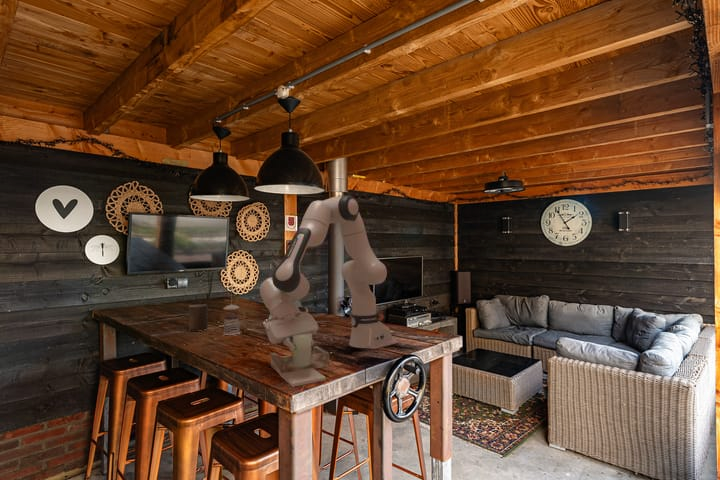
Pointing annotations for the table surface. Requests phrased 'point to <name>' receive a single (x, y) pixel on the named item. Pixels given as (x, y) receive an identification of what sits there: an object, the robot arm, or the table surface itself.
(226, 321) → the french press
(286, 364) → the frame
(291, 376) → the concrete tile
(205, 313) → the pillar candle
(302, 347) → the sage green rounded cylinder
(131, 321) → the table surface
